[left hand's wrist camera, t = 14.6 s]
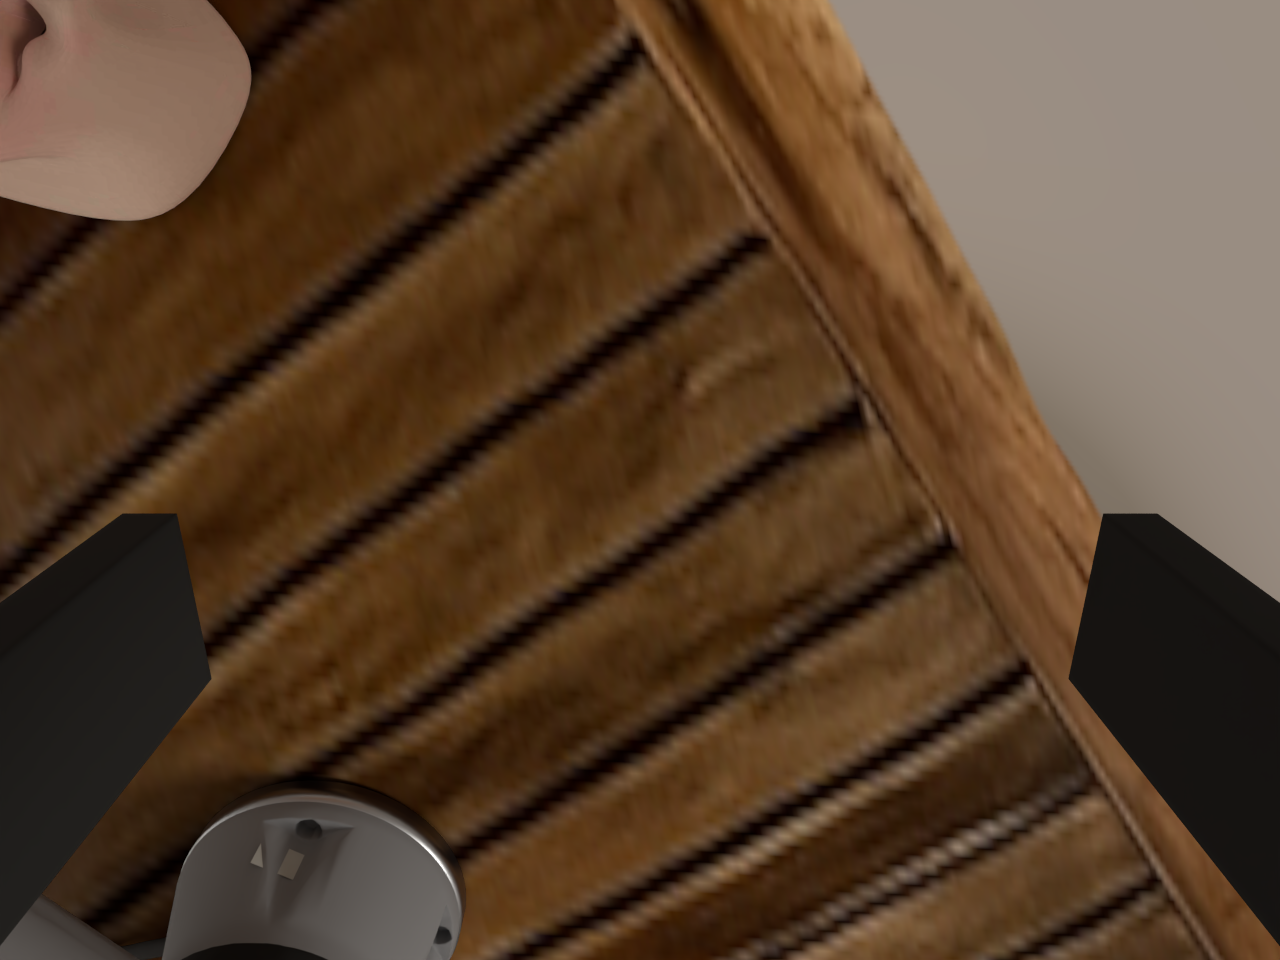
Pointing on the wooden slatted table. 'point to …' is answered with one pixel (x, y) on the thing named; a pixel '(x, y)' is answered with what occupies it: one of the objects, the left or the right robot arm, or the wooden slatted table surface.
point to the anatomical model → (115, 102)
